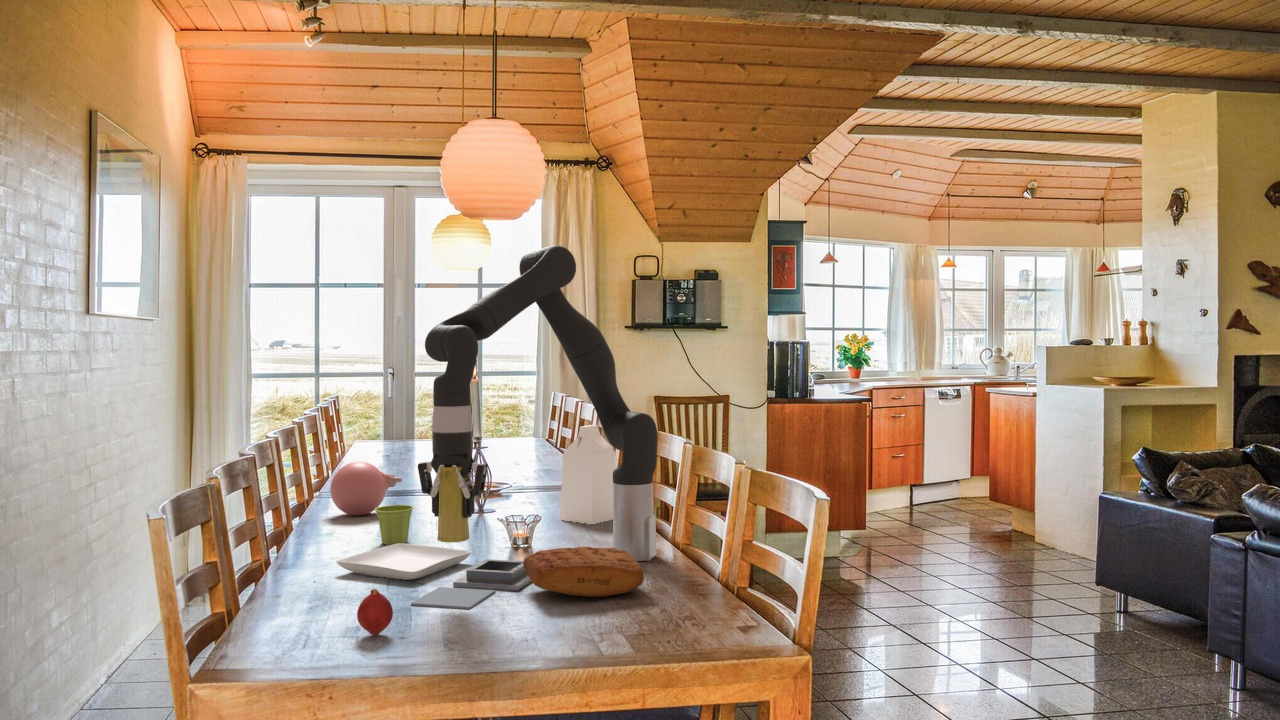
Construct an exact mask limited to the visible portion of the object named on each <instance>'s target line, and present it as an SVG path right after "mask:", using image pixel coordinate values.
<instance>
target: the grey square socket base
mask: <svg viewBox="0 0 1280 720" xmlns="http://www.w3.org/2000/svg"><path fill="white" fill-rule="evenodd" d="M523 561H524V560H523ZM523 561H522V560H503V559H487V558H486V559H484V560H483V561H481V562H479V563H477V564H476V565H473V566H472V567H470V568H468V569H466V572H465V574H464V575H463V576H461V577H459V578H457V579H456V580H454V581H453V582H452V584H453V585H452V588H464V589H481V590H495V591H496V590H497V591H498V590H499V591H512V592H513V591H515V592H518V591H520V590H522V589H523V588H524V587H526V586H527V585H529V584H531V583H532V581H531V580H530V578H529V576H528V574H527V572H526V570H525V568H524V565H523Z"/></svg>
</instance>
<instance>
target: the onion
mask: <svg viewBox="0 0 1280 720" xmlns="http://www.w3.org/2000/svg"><path fill="white" fill-rule="evenodd" d="M356 614H357V615H356V617H357V619H356V620H357V621H358V623H359V626H360V627H361V628H363V629H364V631H366V632H368V633H370V635H371V636H375V637H376V636H378V635H380V634H381V633H382V632H383V631H385V630H386V629H387V628H388V627H389V625H390V623H391V622H392V619H393V615H394V611H393V607H392V603H391V601H390V599H388V598H387V597H386V596H385V595H383V594H382V593H381V592H380V591H379V590H378V589H377V588H372V589H371V590H370V594H368V595H367V596H366V597H364V598H363V600H362V601H361V602H360V604H359V606H358V608H357V613H356Z"/></svg>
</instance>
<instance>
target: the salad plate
mask: <svg viewBox="0 0 1280 720" xmlns="http://www.w3.org/2000/svg"><path fill="white" fill-rule="evenodd" d="M471 554H472V551H471V550H464V549H455V548H448V547H443V546H442V547H440V546H434V545H433V546H431V545H424V544H423V545H421V544H413V543H403V544H402V543H395V544H393V545H386V546H383V547H378V548H376V549H375V548H374V549H372V550H368V551H364V552H361V553H357V554H355V555H352V556H348V557H344V558H341V559H338V560H336V563H337V565H338V566H340V567H341V568H343V569H344V570H347V571H349V572H351V573H352V572H353V573H357V574H358V575H362V574H365V575H364V576H369V575H371V577H376V576H378V577H379V578H384V577H386V579H392V578H393V579H394V580H400V579H402V581H412V580H413V579H414V580H418V579H420V578H423V577H426V576H429V575H431V574H435V573H439V572H440V571H443V570H445V569H447V568H448V569H449V568H450V567H453V566H455V565H458V564H460V563H462V562H463V561H465V560H467V558H469V556H471ZM393 579H392V580H393ZM414 580H413V581H414Z"/></svg>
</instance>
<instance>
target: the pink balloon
mask: <svg viewBox="0 0 1280 720" xmlns="http://www.w3.org/2000/svg"><path fill="white" fill-rule="evenodd" d="M402 482H403V479H402V477H399V476H398V477H397V476H395V475H394V474H393V473H390V474H388V473H384V472H382V471H381V470H380V469H379V468H378V467H376V466H375V465H373V464H371V463H369V462H365V461H353V462H349V463H347V464H345V465H343V466H342V467H340V469H338V470H337V472H336V473H335V474H334V476H333V477H332V479H331V483H330V496H331V499H332V502H333V504H334V506H335V507H337V508H338V510H340V511H341V512H343V513H344V514H347V515H349V516H353V517H354V516H356V517H359V516H366V515H368V514H371V513H372V512H375V508H378V507H380V505H381V504H382V503H383V501H384V499H385V497H386V493H387V491H388V489H389V488H394V487H396V485H397V483H402Z"/></svg>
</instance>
